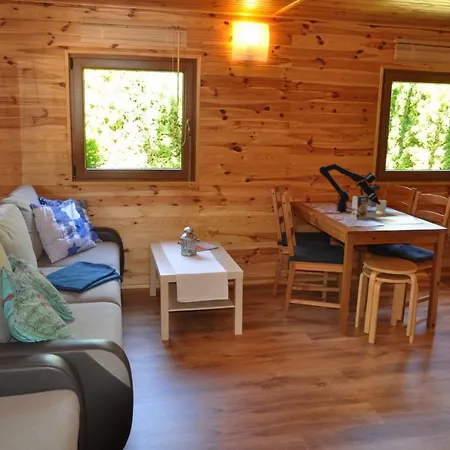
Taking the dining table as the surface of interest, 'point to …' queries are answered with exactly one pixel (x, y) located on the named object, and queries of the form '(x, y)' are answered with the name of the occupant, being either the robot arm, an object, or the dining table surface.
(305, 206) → the dining table surface
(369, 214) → the mat
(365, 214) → the coffee box
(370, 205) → the coffeepot
